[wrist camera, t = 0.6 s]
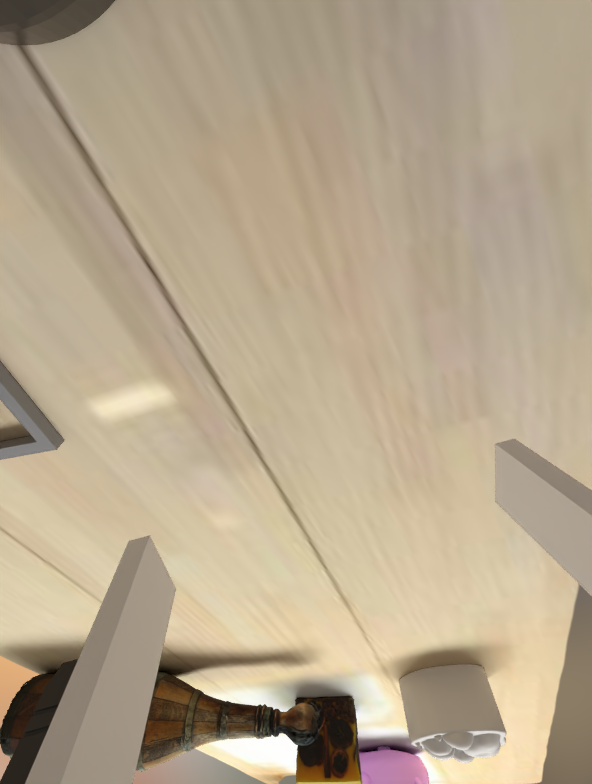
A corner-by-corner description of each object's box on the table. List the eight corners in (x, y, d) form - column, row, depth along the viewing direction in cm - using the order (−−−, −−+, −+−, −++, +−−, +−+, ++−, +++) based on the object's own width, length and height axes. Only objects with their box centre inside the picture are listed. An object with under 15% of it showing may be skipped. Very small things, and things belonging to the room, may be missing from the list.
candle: (294, 696, 61) (293, 782, 52) (353, 694, 60) (361, 781, 51) (303, 714, 66) (303, 794, 58) (356, 713, 65) (364, 793, 57)
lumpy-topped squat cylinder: (485, 685, 56) (512, 763, 49) (404, 693, 59) (418, 767, 52) (483, 661, 51) (513, 744, 44) (393, 670, 53) (408, 750, 46)
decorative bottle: (49, 713, 57) (323, 719, 55) (-10, 791, 47) (325, 802, 45) (44, 651, 57) (321, 654, 54) (-18, 716, 46) (323, 724, 44)
